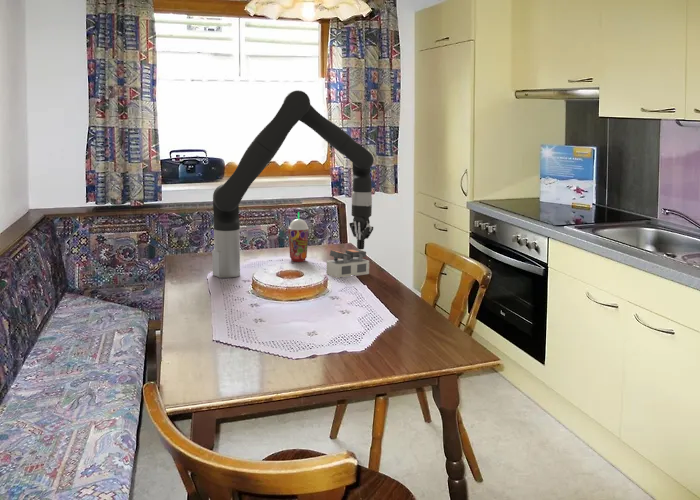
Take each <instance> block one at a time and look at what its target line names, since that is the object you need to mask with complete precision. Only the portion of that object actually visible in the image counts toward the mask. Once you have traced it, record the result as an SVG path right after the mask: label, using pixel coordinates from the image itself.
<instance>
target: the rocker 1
mask: <svg viewBox="0 0 700 500" xmlns="http://www.w3.org/2000/svg"><path fill="white" fill-rule="evenodd" d="M329 256H331V257H332V258H334V257H336V258H338V259H343V257H344V256H347V260H350V258H351V255H349V254H347V253H346V252H343V251H342V252H340V251H338V250H334V249H332V250H330V253H329Z"/></svg>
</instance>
